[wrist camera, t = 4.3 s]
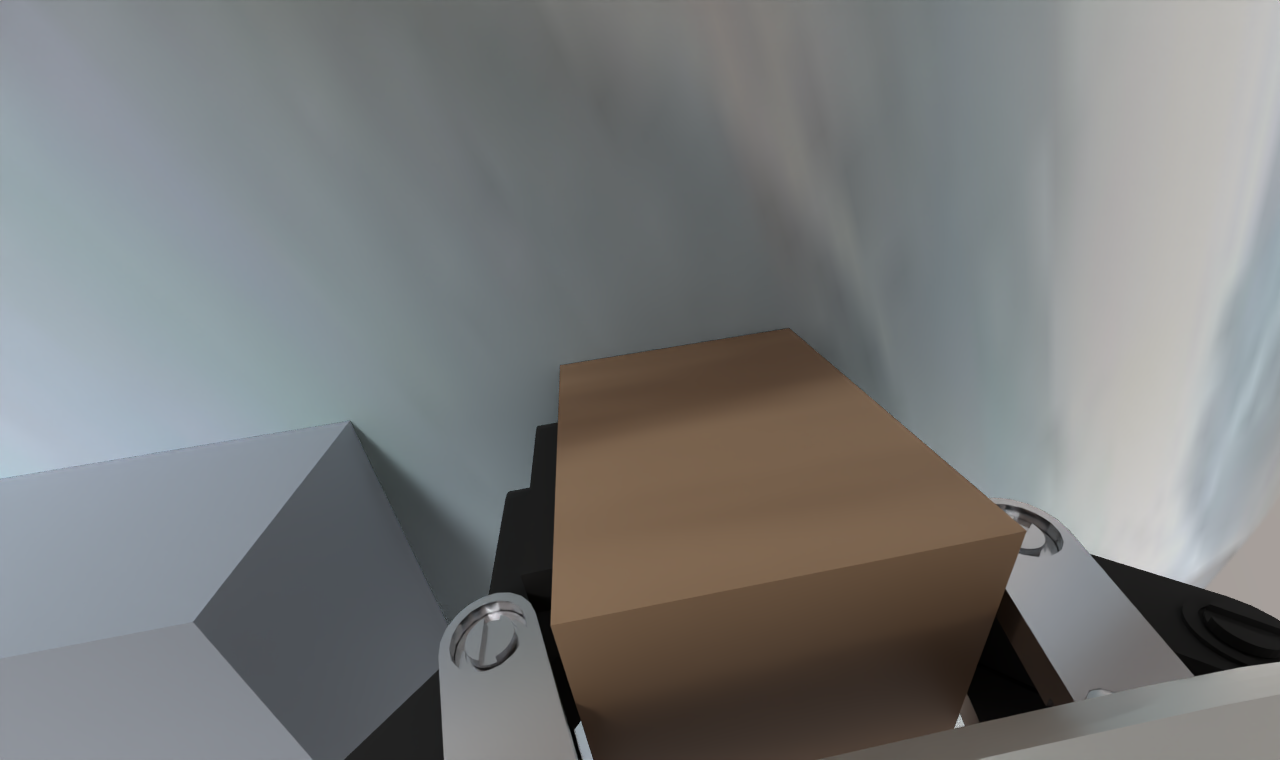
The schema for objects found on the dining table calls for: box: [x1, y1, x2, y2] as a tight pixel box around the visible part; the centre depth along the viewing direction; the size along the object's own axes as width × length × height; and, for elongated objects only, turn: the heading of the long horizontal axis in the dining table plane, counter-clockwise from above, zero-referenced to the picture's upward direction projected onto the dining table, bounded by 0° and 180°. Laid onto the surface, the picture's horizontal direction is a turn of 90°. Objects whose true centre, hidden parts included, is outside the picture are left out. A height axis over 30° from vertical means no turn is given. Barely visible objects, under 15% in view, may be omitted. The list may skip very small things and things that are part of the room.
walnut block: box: [551, 328, 1027, 760], centre depth 9 cm, size 5×5×6 cm
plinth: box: [0, 421, 448, 760], centre depth 10 cm, size 12×12×5 cm
